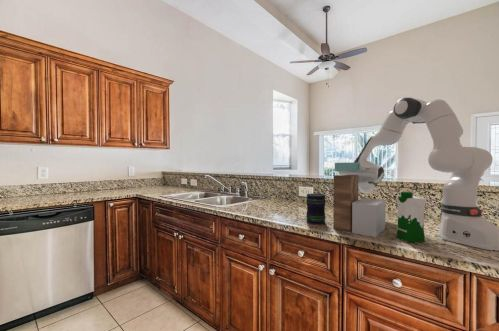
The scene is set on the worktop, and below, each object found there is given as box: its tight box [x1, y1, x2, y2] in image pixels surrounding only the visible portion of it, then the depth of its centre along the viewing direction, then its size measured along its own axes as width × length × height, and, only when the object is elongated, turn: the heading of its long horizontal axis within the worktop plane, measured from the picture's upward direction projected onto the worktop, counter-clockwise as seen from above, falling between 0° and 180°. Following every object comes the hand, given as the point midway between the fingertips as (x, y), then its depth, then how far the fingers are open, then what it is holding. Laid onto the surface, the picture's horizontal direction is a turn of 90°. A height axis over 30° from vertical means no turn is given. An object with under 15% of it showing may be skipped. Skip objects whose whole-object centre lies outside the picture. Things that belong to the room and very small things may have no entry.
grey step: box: [351, 197, 386, 238], centre depth 114 cm, size 18×10×14 cm, turn 140°
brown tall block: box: [332, 174, 359, 233], centre depth 119 cm, size 12×8×26 cm, turn 140°
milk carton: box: [395, 191, 428, 244], centre depth 100 cm, size 9×9×20 cm
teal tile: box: [334, 161, 360, 172], centre depth 121 cm, size 26×4×4 cm, turn 140°
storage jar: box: [305, 192, 326, 226], centre depth 129 cm, size 10×10×15 cm
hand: (354, 165), depth 128 cm, fingers closed on teal tile, 4 cm apart
